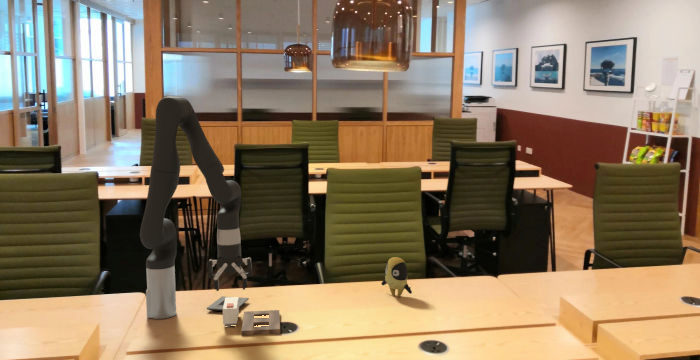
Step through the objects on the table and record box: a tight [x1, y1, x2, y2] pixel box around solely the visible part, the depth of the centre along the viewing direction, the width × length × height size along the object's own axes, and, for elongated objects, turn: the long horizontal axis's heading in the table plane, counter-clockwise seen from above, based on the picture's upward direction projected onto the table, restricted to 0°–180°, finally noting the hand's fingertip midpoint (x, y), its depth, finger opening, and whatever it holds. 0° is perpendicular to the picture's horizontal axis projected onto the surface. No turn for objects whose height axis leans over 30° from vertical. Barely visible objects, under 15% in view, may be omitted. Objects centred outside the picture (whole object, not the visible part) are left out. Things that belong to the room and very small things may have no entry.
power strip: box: [222, 296, 240, 327], centre depth 200 cm, size 4×12×7 cm, turn 7°
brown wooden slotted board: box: [241, 309, 281, 336], centre depth 198 cm, size 12×18×2 cm, turn 7°
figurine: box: [381, 256, 413, 298], centre depth 226 cm, size 8×16×15 cm, turn 42°
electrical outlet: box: [206, 296, 250, 312], centre depth 215 cm, size 13×10×2 cm
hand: (231, 289), depth 199 cm, fingers open, 8 cm apart
